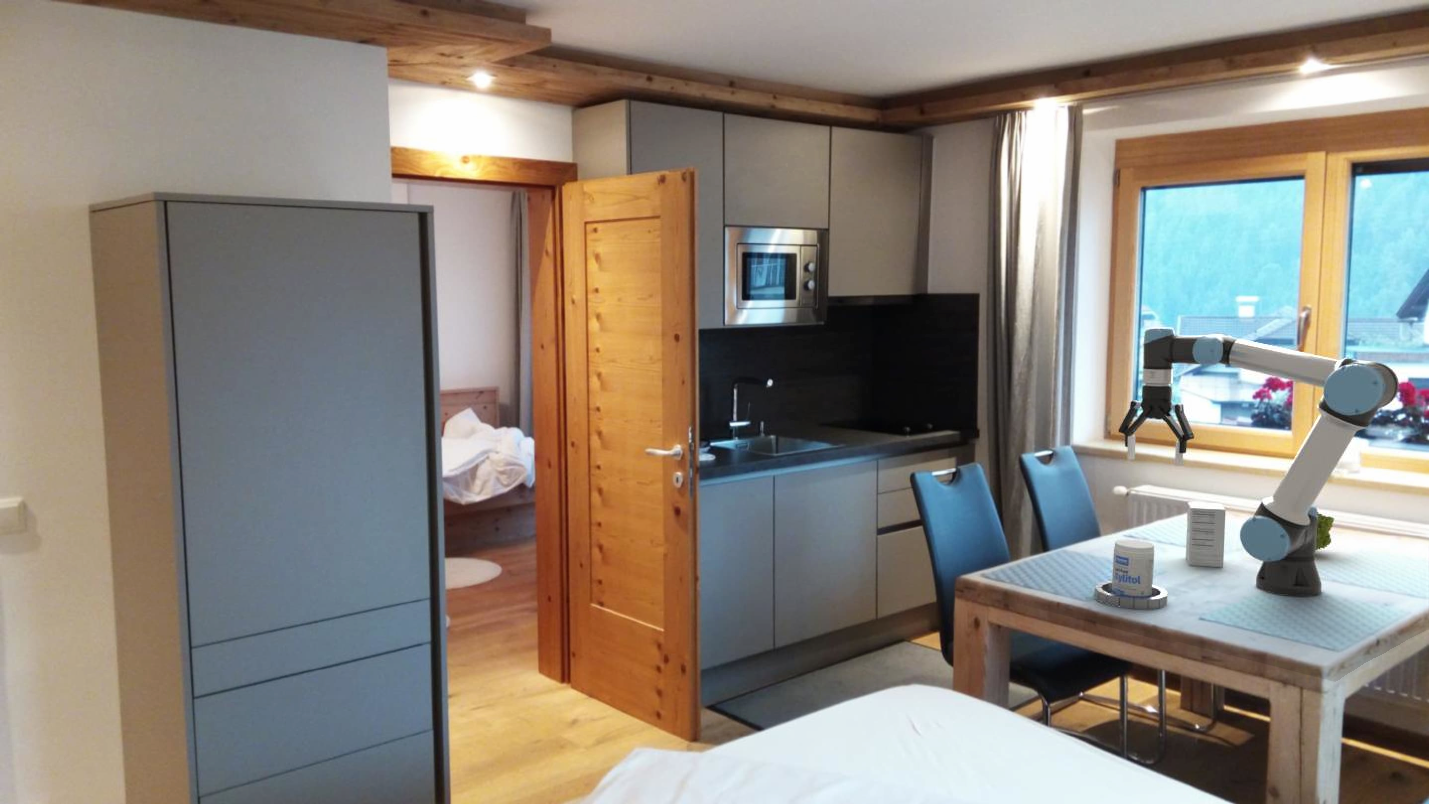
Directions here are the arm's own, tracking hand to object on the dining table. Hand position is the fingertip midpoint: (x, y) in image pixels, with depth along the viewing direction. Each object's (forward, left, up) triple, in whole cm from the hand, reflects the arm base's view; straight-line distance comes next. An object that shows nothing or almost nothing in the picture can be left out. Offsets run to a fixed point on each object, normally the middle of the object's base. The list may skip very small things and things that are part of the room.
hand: (1154, 462), depth 287 cm
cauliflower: (-15, -57, -32) cm, 67 cm away
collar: (-8, +25, -32) cm, 41 cm away
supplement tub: (-8, +25, -32) cm, 41 cm away
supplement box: (-3, -25, -32) cm, 41 cm away
